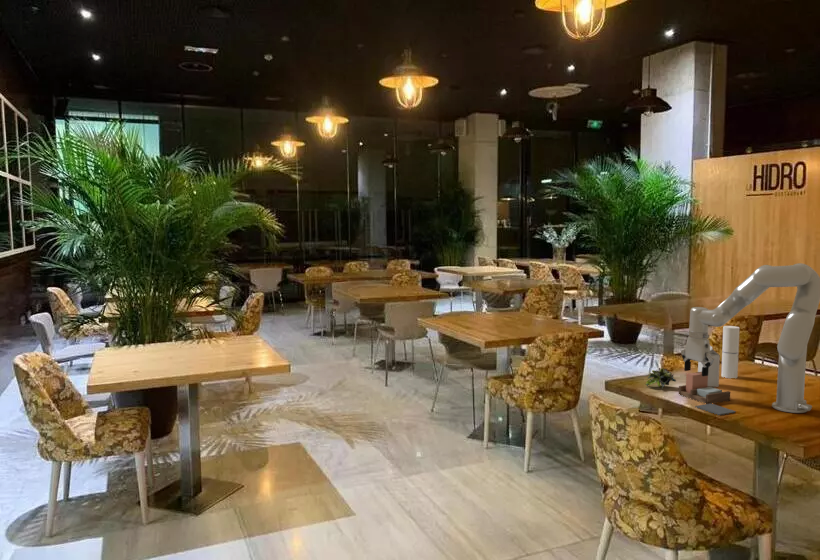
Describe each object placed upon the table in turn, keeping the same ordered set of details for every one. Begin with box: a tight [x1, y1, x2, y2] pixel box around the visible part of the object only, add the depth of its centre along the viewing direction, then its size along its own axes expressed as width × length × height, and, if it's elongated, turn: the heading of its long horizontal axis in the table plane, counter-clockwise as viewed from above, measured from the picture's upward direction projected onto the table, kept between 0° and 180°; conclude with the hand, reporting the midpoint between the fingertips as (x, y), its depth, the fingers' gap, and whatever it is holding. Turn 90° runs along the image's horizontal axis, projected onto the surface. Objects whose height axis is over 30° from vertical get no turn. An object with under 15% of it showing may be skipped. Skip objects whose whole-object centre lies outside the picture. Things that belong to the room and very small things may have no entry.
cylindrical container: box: [720, 325, 741, 379], centre depth 307 cm, size 7×7×25 cm
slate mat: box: [694, 403, 737, 416], centre depth 255 cm, size 12×9×1 cm
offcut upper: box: [697, 386, 723, 397], centre depth 269 cm, size 6×8×2 cm
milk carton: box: [697, 345, 721, 388], centre depth 292 cm, size 7×7×19 cm
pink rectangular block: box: [685, 371, 709, 393], centre depth 276 cm, size 4×9×10 cm, turn 112°
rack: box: [678, 384, 731, 404], centre depth 272 cm, size 16×13×4 cm
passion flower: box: [645, 367, 677, 389], centre depth 289 cm, size 11×11×12 cm
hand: (695, 373), depth 275 cm, fingers open, 9 cm apart
